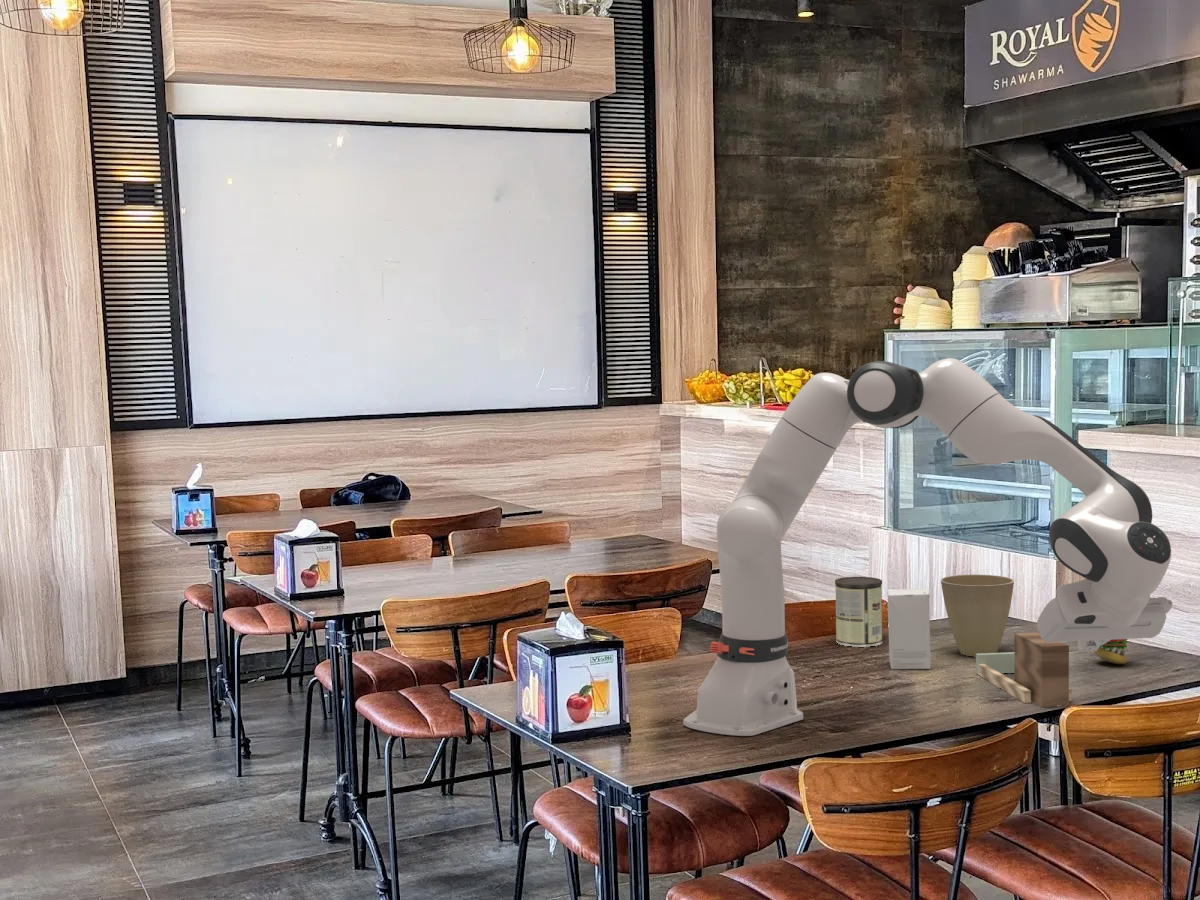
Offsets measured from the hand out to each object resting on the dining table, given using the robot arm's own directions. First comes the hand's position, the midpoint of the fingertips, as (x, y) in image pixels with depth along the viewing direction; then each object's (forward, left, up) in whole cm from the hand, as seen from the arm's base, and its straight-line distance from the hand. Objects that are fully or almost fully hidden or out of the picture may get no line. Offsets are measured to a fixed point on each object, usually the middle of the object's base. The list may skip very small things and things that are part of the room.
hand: (1086, 647), depth 220 cm
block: (+14, +12, -13) cm, 22 cm away
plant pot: (+44, +34, -13) cm, 57 cm away
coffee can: (+42, +60, -13) cm, 74 cm away
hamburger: (+48, +8, -13) cm, 50 cm away
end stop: (+29, +24, -13) cm, 40 cm away
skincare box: (+26, +42, -13) cm, 51 cm away
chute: (+20, +17, -13) cm, 29 cm away
